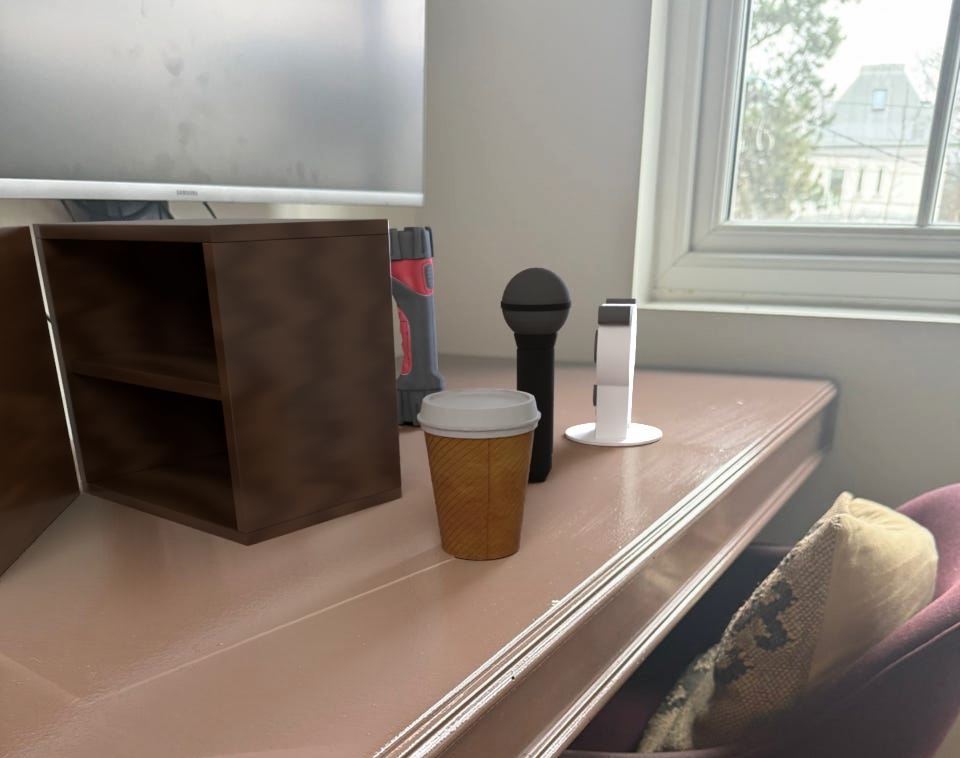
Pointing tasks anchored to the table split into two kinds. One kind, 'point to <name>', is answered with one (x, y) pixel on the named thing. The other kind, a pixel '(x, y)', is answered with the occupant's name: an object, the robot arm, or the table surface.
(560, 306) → the microphone
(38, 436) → the cupboard door
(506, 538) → the disposable coffee cup
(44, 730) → the table surface
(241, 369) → the cupboard
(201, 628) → the table surface
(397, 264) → the flashlight
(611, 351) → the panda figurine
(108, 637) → the table surface
